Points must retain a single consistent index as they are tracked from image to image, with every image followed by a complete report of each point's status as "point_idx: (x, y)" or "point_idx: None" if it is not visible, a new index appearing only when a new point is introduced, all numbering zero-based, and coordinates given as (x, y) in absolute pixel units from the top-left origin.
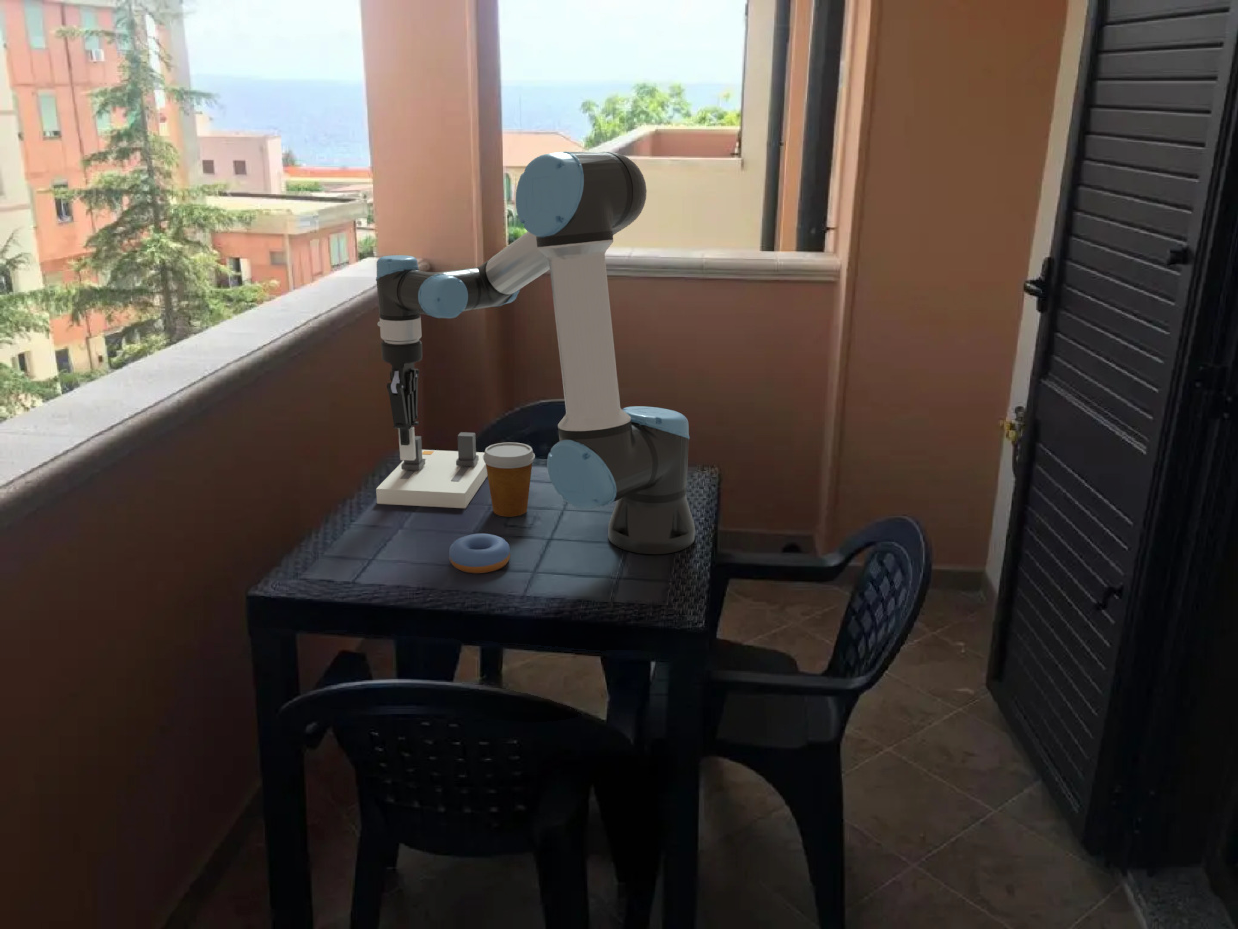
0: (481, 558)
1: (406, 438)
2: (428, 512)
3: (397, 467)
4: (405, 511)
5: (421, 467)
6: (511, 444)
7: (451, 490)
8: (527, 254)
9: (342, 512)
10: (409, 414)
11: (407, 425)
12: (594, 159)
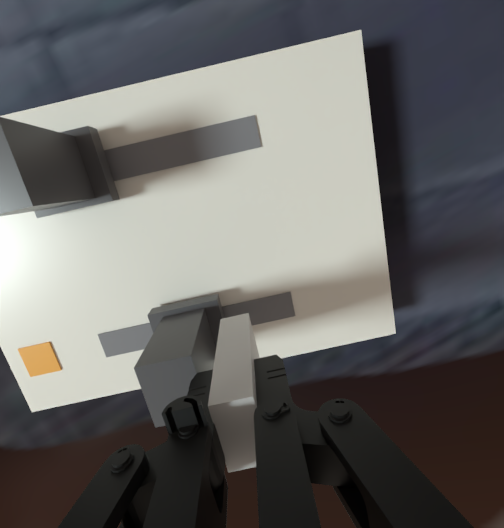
0: None
1: (286, 378)
2: (400, 151)
3: None
4: (408, 218)
5: (195, 299)
6: None
7: (347, 96)
8: None
9: (449, 357)
10: (287, 482)
11: (348, 410)
12: None
